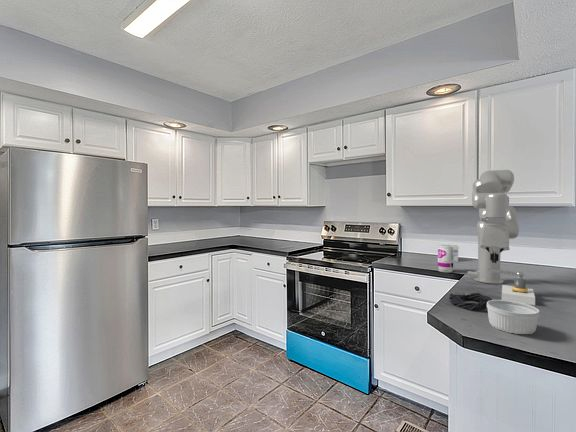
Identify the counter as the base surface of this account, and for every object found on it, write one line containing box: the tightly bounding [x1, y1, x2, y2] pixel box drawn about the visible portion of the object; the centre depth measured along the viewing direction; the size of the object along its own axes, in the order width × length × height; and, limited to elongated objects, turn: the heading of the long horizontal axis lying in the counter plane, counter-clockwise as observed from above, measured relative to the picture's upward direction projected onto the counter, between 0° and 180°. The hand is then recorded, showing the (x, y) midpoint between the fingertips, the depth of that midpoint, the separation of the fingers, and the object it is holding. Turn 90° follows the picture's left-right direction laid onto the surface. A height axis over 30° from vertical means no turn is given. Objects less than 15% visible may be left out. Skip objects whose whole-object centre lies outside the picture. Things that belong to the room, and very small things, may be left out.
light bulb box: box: [446, 244, 459, 262], centre depth 218 cm, size 11×7×11 cm, turn 67°
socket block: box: [501, 275, 536, 306], centre depth 126 cm, size 10×16×8 cm, turn 144°
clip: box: [488, 268, 525, 277], centre depth 134 cm, size 3×12×2 cm, turn 46°
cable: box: [448, 292, 493, 312], centre depth 117 cm, size 17×14×4 cm
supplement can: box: [437, 244, 454, 274], centre depth 180 cm, size 8×8×15 cm
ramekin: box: [487, 299, 541, 335], centre depth 94 cm, size 13×13×7 cm
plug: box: [511, 277, 529, 293], centre depth 126 cm, size 5×5×8 cm
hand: (494, 262), depth 135 cm, fingers closed
